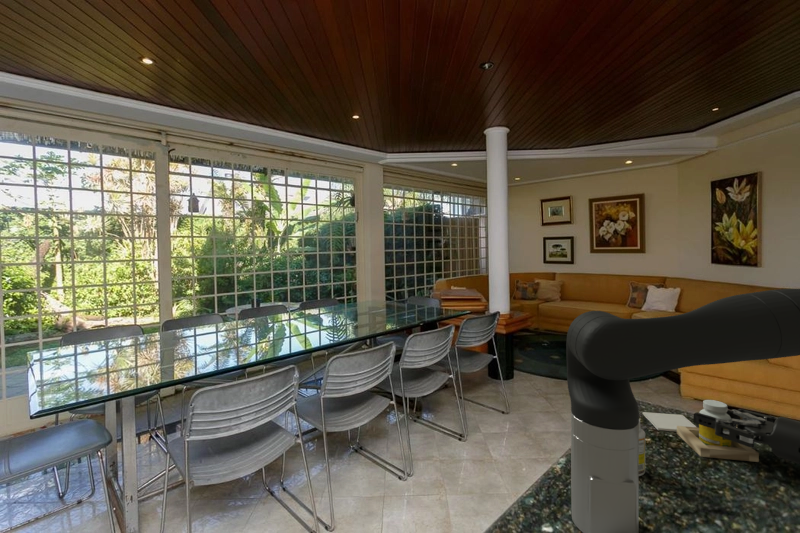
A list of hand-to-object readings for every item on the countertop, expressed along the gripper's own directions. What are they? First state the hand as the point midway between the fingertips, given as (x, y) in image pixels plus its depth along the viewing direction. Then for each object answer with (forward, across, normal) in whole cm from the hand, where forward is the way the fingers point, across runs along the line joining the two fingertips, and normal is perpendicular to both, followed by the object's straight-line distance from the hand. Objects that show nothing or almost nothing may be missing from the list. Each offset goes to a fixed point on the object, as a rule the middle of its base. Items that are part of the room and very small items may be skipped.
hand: (702, 413), depth 82 cm
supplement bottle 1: (+3, +24, +7) cm, 25 cm away
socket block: (-2, 0, +6) cm, 7 cm away
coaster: (+8, -4, +6) cm, 11 cm away
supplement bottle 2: (-2, 0, +7) cm, 7 cm away
